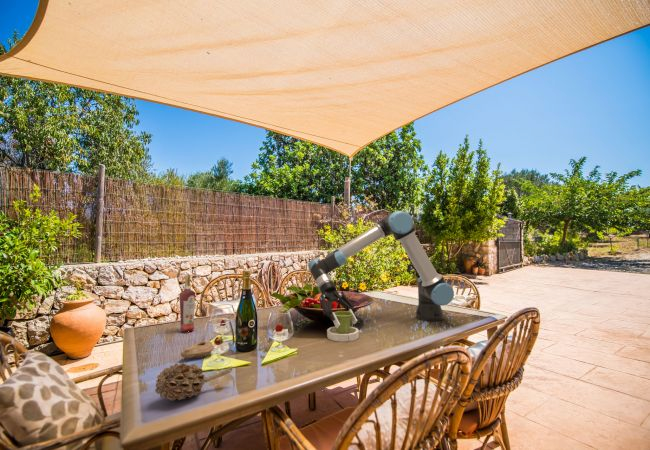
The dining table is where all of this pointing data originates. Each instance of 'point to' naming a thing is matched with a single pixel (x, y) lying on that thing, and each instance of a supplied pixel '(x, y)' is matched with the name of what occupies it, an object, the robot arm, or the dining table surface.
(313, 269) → the robot arm
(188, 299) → the liquor
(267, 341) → the dining table surface
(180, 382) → the banksia seed pod
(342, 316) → the plant pot
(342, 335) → the saucer
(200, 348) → the pottery oil lamp
